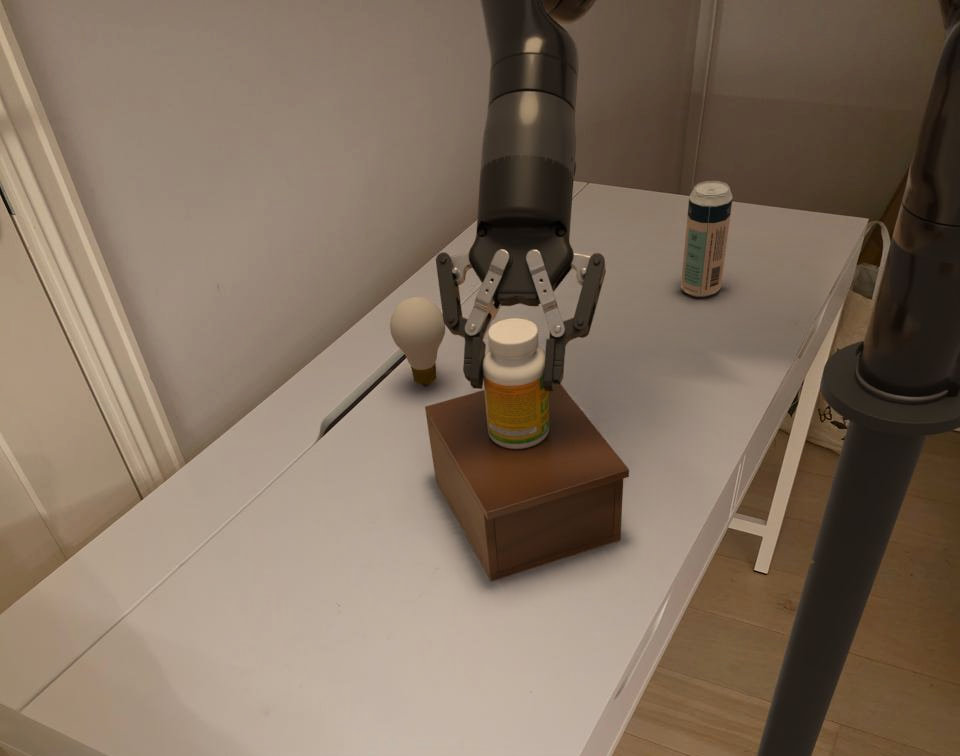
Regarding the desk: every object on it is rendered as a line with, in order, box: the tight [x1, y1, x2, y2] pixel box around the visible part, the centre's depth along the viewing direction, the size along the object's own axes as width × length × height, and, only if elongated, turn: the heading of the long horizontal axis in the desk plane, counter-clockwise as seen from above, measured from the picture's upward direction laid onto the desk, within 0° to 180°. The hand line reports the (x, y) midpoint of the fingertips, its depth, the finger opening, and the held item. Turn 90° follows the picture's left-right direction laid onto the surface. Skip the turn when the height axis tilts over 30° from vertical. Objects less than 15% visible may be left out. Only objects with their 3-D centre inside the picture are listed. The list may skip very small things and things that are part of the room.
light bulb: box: [389, 296, 446, 387], centre depth 95 cm, size 6×6×10 cm
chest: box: [425, 413, 625, 582], centre depth 80 cm, size 16×13×8 cm
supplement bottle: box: [483, 317, 549, 449], centre depth 73 cm, size 5×5×10 cm
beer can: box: [680, 180, 733, 298], centre depth 103 cm, size 5×5×12 cm
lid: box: [424, 384, 630, 520], centre depth 77 cm, size 16×13×1 cm
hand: (512, 387), depth 71 cm, fingers closed on supplement bottle, 5 cm apart
